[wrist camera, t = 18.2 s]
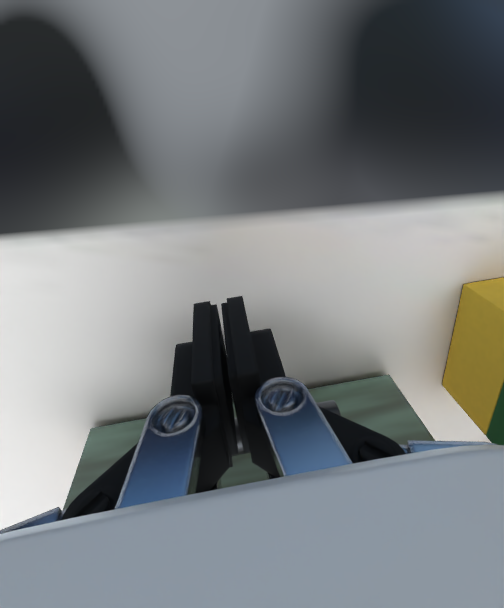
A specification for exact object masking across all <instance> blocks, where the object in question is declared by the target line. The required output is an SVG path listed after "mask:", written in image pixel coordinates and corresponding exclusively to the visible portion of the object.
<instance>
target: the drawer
mask: <svg viewBox="0 0 504 608" xmlns="http://www.w3.org/2000/svg"><path fill="white" fill-rule="evenodd" d="M308 390H309V392H310V394H311V395H312V397H313V399H314V400H315V402H316V404H317V405H318V406H320V407H322V408H324V409H326V410H329V411H331V412H333V413H335V414H338V415H340V416H342V417H344V418H346V419H349V420H351V421H353V422H355V423H358V424H360V425H362V426H364V427H367V428H369V429H371V430H373V431H375V432H378V433H380V434H382V435H384V436H387V437H388V438H390V439H392V440H393V441H395V442H396V443H398V444H399V445H407V442H408V440H414V441H435V440H434V439H433V437H432V436H431V434H430V433H429V431H428V430H427V428H426V427H425V426H424V424H423V423H422V421H421V420H420V418H419V417H418V416H417V414H416V413H415V411H414V410H413V408H412V407H411V405H410V404H409V403H408V401H407V400H406V398H405V397H404V395H403V394H402V392H401V391H400V390H399V388H398V387H397V385H396V384H395V382H394V381H393V379H392V378H391V377H390V375H384V376H378V377H373V378H367V379H362V380H356V381H351V382H345V383H340V384H334V385H328V386H323V387H317V388H312V389H308ZM233 408H234V418H235V427H236V436H237V445H238V454H235V455H232V463H233V467H229V469H228V470H227V471H226V472H225V473H224V474H223V476H222V477H221V486H222V488H227V487H232V486H237V485H243V484H248V483H253V482H258V481H264V480H268V479H267V474H266V471H265V470H263V469H262V468H260V467H259V466H257V465H255V464H254V463H252V458H251V453H250V452H246V453H244V451H243V446H242V441H241V436H240V431H239V426H238V421H237V416H236V411H235V406H234V403H233ZM146 419H147V418H145V419H140V420H134V421H129V422H123V423H118V424H112V425H106V426H101V427H95V428H91V429H90V432H89V435H88V438H87V441H86V444H85V447H84V450H83V453H82V456H81V459H80V462H79V464H78V467H77V470H76V473H75V476H74V479H73V482H72V485H71V488H70V491H69V494H68V496H67V499H66V502H65V505H64V508H63V510H65V509H67V508H68V507H69V505H70V504H71V503H72V501H73V500H74V499H75V498H76V497H77V496H78V495H79V494H80V493H81V492H83V491H84V490H85V489H86V488H87V487H88V486H89V485H91V484H92V483H93V482H94V481H95V480H96V479H97V478H98V477H100V476H101V475H102V474H103V473H104V472H105V471H106V470H108V469H109V468H110V467H111V466H112V465H113V464H114V463H115V462H117V461H118V460H119V459H120V458H121V457H122V456H123V455H125V454H126V453H127V452H128V451H129V450H130V449H131V448H132V447H134V446H135V445H136V444H137V443H138V442H139V439H140V436H141V433H142V431H143V428H144V425H145V422H146ZM222 488H221V489H222Z"/></svg>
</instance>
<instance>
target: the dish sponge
mask: <svg viewBox="0 0 504 608" xmlns="http://www.w3.org/2000/svg"><path fill="white" fill-rule="evenodd" d="M442 385H443V387H444V388H445V389H446V390H447V391H448V392H449V394H450V395H451V396H452V397H453V398H454V399H455V401H456V402H457V403H458V404H459V405H460V406H461V408H462V409H463V410H464V411H465V412H466V413H467V414H468V416H469V417H470V418H471V419H472V420H473V421H474V423H475V424H476V425H477V426H478V427H479V428H480V430H481V431H482V432H483V433H484V434H485V435H486V436H487V438H488V439H489V440H490V441H491V442H492V443H494V444H497V445H504V277H502V278H496V279H490V280H484V281H478V282H473V283H467V284H464V285H463V289H462V293H461V298H460V303H459V307H458V312H457V317H456V322H455V326H454V331H453V336H452V340H451V345H450V350H449V354H448V359H447V364H446V368H445V373H444V378H443V382H442Z"/></svg>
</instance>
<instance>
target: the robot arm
mask: <svg viewBox="0 0 504 608" xmlns="http://www.w3.org/2000/svg"><path fill="white" fill-rule="evenodd" d="M221 306H222V315H223V325H224V335H225V344H226V350H225V345H224V340H223V335H222V330H221V324H220V319H219V314H218V309H217V305H211V304H210V301H209V302H203V303H197V304H194V312H193V341H192V342H188V343H182V344H177V345H176V348H175V357H174V367H173V377H172V386H171V396H170V397H169V398H166V399H164V400H162V401H161V402H159V403H158V404H156V405H155V406H154V408H153V409H152V410H151V411H150V413H149V415H148V417H147V419H146V422H145V425H144V428H143V431H142V433H141V436H140V439H139V442H138V443H137V444H136V445H135V446H134V447H132V448H131V449H130V450H129V451H128V452H127V453H126V454H125V455H123V456H122V457H121V458H120V459H119V460H118V461H117V462H115V463H114V464H113V465H112V466H111V467H110V468H109V469H108V470H106V471H105V472H104V473H103V474H102V475H101V476H100V477H98V478H97V479H96V480H95V481H94V482H93V483H92V484H91V485H89V486H88V487H87V488H86V489H85V490H84V491H83V492H81V493H80V494H79V495H78V496H77V497H76V498H75V499H74V500H73V501H72V503H71V504H70V505H69V507H68V508H67V509H65V510H63V511H61V509H60V508H59V507H57V508H55V509H52V510H50V511H47V512H45V513H42V514H40V515H37V516H35V517H32V518H30V519H27V520H25V521H22V522H20V523H17V524H15V525H12V526H10V527H7V528H5V529H2V530H0V608H504V445H497V444H494V443H488V442H461V441H414V440H408V442H407V445H399V444H398V443H396V442H395V441H393V440H392V439H390V438H388V437H387V436H384V435H382V434H380V433H378V432H375V431H373V430H371V429H369V428H367V427H364V426H362V425H360V424H358V423H355V422H353V421H351V420H349V419H346V418H344V417H342V416H340V415H338V414H335V413H333V412H331V411H329V410H326V409H324V408H322V407H320V406H318V405H317V404H316V402H315V400H314V399H313V397H312V395H311V394H310V392H309V390H308V389H307V387H306V386H305V385H304V384H303V383H302V382H300V381H298V380H297V379H293V378H290V377H286V376H285V373H284V370H283V366H282V363H281V360H280V357H279V354H278V350H277V347H276V344H275V341H274V338H273V334H272V331H271V329H264V330H258V331H253V332H250V330H249V325H248V321H247V316H246V311H245V307H244V302H243V298H242V296H239V297H233V298H227V303H222V304H221ZM226 354H227V355H226ZM232 396H233V399H232ZM233 401H234V406H235V411H236V416H237V421H238V426H239V431H240V436H241V441H242V446H243V451H244V453H246V452H250V453H251V458H252V463H254V464H255V465H257V466H259V467H260V468H262V469H263V470H265V471H266V474H267V479H268V480H264V481H258V482H253V483H248V484H243V485H237V486H232V487H227V488H222V486H221V477H222V476H223V474H224V473H225V472H226V471H227V470H228V469H229V467H233V463H232V455H235V454H238V445H237V436H236V427H235V418H234V408H233ZM221 488H222V489H221Z"/></svg>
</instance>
